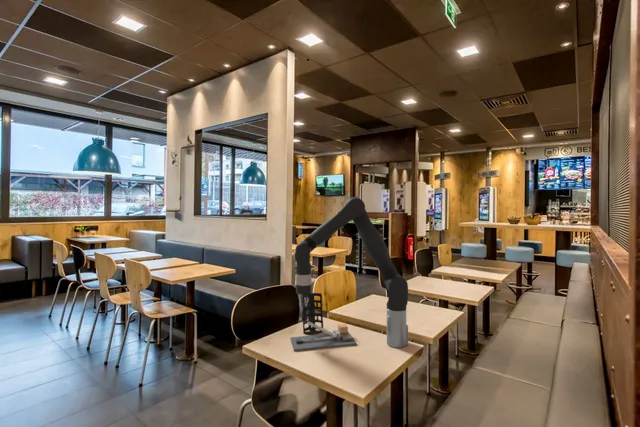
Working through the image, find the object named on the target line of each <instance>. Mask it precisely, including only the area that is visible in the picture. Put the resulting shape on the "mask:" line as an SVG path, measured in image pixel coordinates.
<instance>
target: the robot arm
mask: <svg viewBox="0 0 640 427" xmlns="http://www.w3.org/2000/svg"><path fill="white" fill-rule="evenodd" d="M352 221H353V223H354V224H355V227H356V229H357V231H358V234H359V236H360V239H361V241H362V243H363V245H364V248H365V249H366V251H367V254H368V255H369V257H370V259H371V260H372V261H373V263H374V264H375V266H376V268H377V270H378V271H379V273H380V275H381V278H382V279H383V283H384V285H385V287H386V290H388V296H387V298H388V300H387V302H386V344H387V345H388V346H389V347H391V348H397V349H399V348H405V347H407V346H409V325H408V324H407V305H408V303H409V284H408V281H407V279H406V278H404V277H403V276H401V274H400V273H399V272H398V269H396V267H395V265H394V263H393V261H392V259H391V254H390V252H389V249H388V246H387V244H386V242H385V241H384V238H383V237H382V235H381V233H380V232H379V230H378V229H377V228H376V226H375V225H374V224H373V222H372V221H371V219H370V217H369V215H368V212H367V210H366V205H365V202H364V201H363V200H362V198H359V197H358V196H357V197H356V196H352V197H350V198H348V199H347V200H346V202H345V205H344V206H343V207H342V208H341V209H340V210H339V211H338V212H337V213H336V214H335V215H334V216H333V217H331V218H330V219H327V221H325V222H323V223H322V224H321V225H320V226H318V227H317V228H316V229H314V231H312V232H311V233H310V235H308V236H306V237H305V238H304V239H302V240H301V241H300V242H299V243H297V244H296V247H295V253H294V254H295V261H296V265H295V266H296V271H295V272H296V276H295V293H296V294H297V295H300V296H299V297H298V298H299V308H300V311H301V318H302V319H306V318H307V319H308V316H307V314H308V305H309V303H308V301H309V298H308V296H307V295H308V294H310V293H313V292H312V291H313V290H312V289H313V288H312V285H313V284H312V281H313V279H312V278H313V277H312V263H311V253H312V252H313V251H314V250H315V249H316V248H317V247H318V246H320V245H321V244H324V242H326V241H327V240H328V239H330V237H332V236H333V235H334V234H335V233H336V232H337V231H339V230H340V229H342V227H344V226H345V225H347V224H348V223H350V222H352Z"/></svg>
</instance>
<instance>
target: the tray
mask: <svg viewBox="0 0 640 427" xmlns="http://www.w3.org/2000/svg"><path fill="white" fill-rule="evenodd" d="M321 337H332V336H331V335H329V334H327V333H323V334H321V333H320V334H309V335H300V336H291V337H290V342H291V345H292V348H293V352H301V351H303V352H304V351H313V350H322V349H332V348H343V347H351V346H353V347H354V346H357V345H358V344H357V342H356V340H355V339H354V338H353V341H345V342H343V341H342V340H341V338H340V340H327V341H317V342H306V343H301V344H297V343H296V339H310V338H321Z"/></svg>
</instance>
